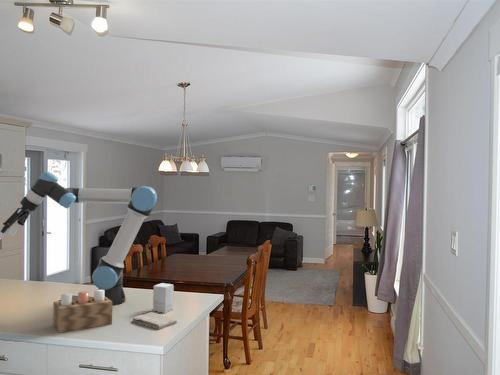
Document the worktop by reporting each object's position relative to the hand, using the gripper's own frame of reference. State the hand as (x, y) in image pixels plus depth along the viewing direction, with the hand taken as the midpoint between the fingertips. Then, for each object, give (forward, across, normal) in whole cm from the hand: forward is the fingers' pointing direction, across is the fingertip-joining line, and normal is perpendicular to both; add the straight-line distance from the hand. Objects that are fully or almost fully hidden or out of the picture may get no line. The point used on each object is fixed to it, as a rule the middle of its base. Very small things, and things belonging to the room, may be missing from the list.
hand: (4, 236), depth 217 cm
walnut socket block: (+5, +22, +55) cm, 59 cm away
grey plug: (+5, +26, +47) cm, 54 cm away
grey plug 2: (-3, +19, +57) cm, 60 cm away
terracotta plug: (+1, +22, +52) cm, 57 cm away
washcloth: (-12, +20, +81) cm, 84 cm away
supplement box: (-14, +2, +82) cm, 84 cm away
